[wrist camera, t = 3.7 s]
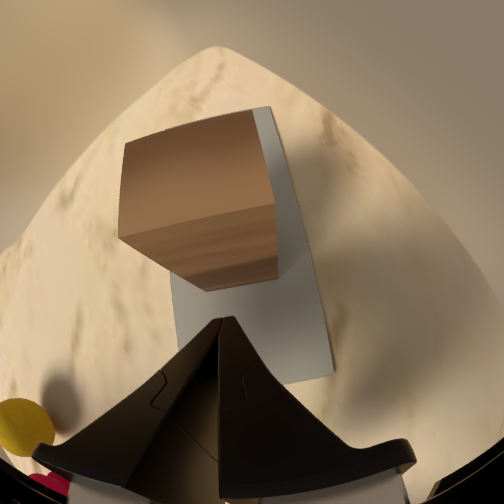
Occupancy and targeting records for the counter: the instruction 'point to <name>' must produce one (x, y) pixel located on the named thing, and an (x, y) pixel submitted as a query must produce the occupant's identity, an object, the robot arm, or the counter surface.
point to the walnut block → (202, 202)
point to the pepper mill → (53, 482)
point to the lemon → (24, 426)
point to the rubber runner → (269, 287)
